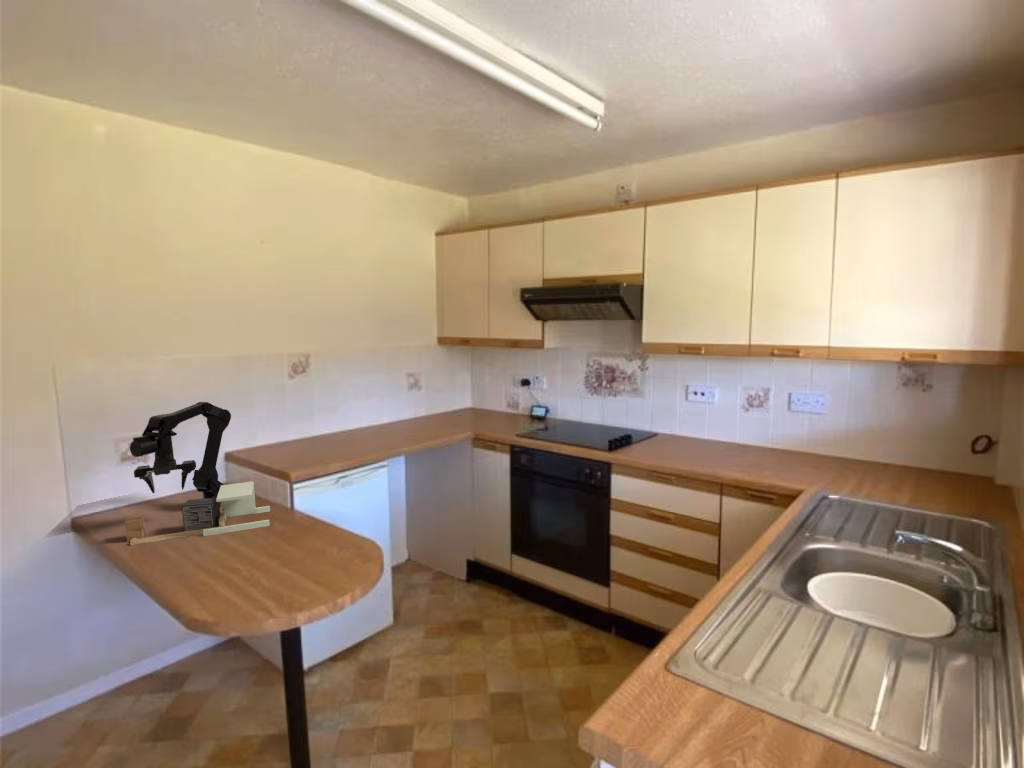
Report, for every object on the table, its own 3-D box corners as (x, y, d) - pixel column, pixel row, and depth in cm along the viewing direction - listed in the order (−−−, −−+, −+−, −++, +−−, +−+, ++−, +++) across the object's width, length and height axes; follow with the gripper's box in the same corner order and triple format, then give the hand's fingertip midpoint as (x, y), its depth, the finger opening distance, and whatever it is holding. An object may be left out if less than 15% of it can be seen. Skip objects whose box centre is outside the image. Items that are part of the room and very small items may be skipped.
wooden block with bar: (132, 533, 193) (130, 514, 192) (226, 519, 204) (224, 501, 203) (124, 546, 182) (121, 526, 181) (223, 530, 194) (221, 511, 193)
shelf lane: (209, 519, 205) (205, 487, 203) (270, 510, 213) (267, 479, 211) (203, 536, 189) (199, 501, 188) (269, 525, 197) (266, 492, 196)
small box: (222, 524, 200) (219, 496, 199) (215, 531, 194) (212, 502, 192) (191, 526, 198) (188, 498, 197) (183, 533, 192) (180, 505, 191)
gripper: (127, 458, 188) (133, 502, 190) (189, 451, 196) (194, 493, 198) (135, 451, 199) (140, 492, 201) (194, 445, 206) (198, 485, 208)
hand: (168, 491), depth 201 cm, fingers open, 9 cm apart
